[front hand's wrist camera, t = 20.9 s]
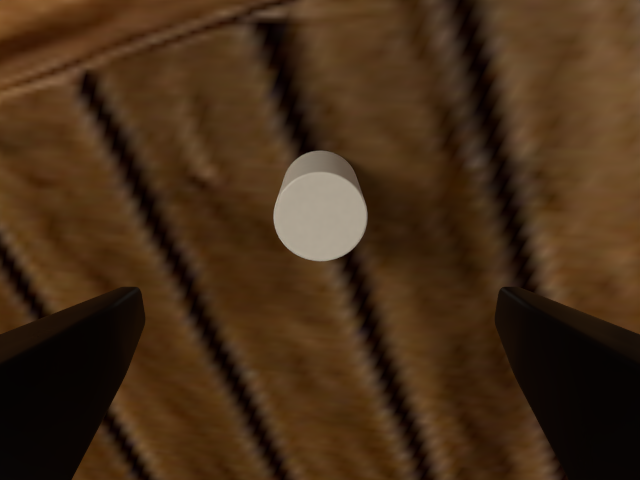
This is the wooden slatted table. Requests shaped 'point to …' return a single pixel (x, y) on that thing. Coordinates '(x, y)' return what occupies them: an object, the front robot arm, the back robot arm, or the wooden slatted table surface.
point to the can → (320, 207)
